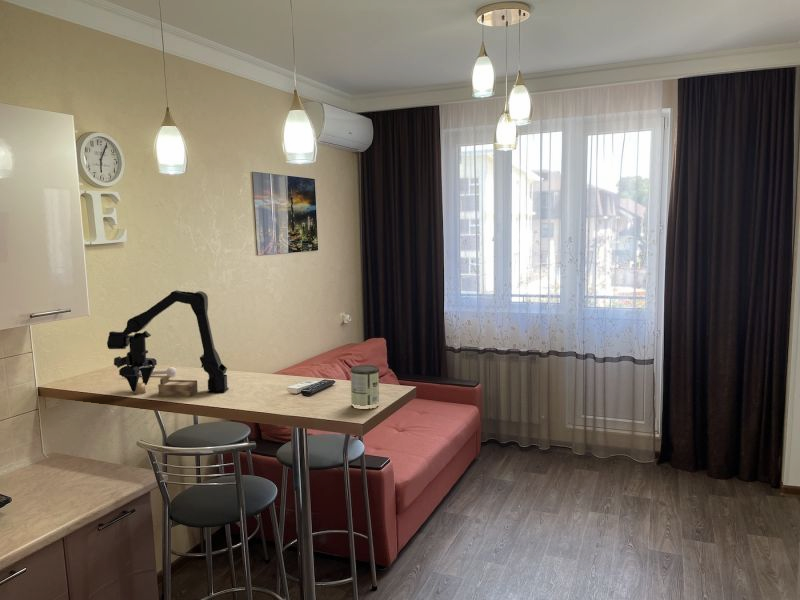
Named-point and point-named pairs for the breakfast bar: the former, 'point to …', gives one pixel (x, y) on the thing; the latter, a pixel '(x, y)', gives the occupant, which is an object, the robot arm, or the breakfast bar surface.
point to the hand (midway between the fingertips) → (139, 388)
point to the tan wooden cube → (140, 388)
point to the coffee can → (364, 385)
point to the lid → (166, 382)
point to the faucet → (163, 371)
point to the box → (178, 389)
